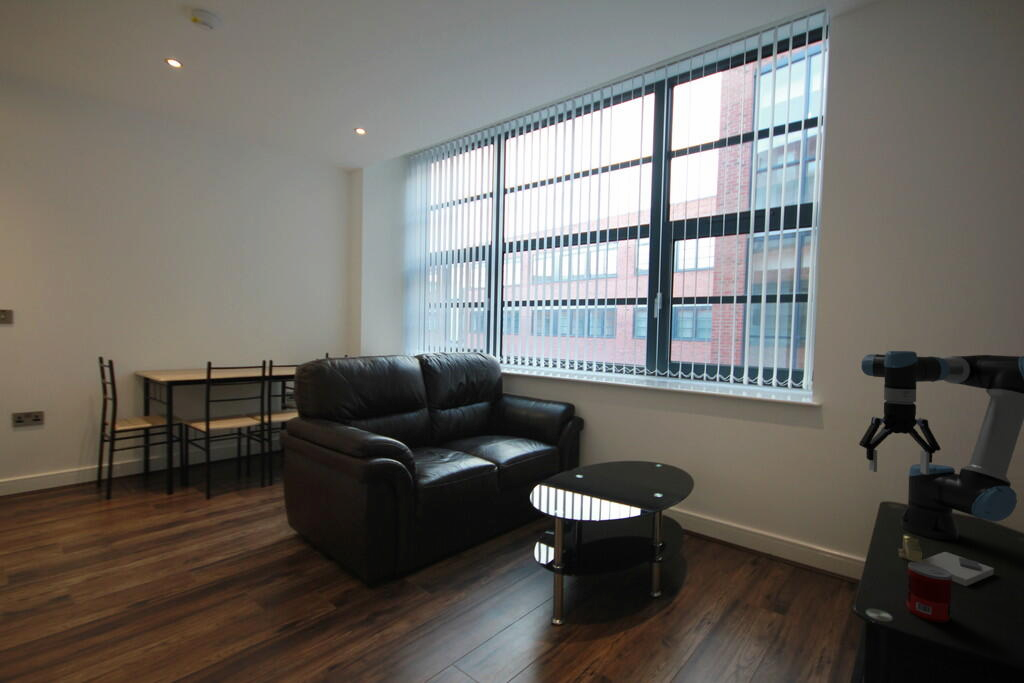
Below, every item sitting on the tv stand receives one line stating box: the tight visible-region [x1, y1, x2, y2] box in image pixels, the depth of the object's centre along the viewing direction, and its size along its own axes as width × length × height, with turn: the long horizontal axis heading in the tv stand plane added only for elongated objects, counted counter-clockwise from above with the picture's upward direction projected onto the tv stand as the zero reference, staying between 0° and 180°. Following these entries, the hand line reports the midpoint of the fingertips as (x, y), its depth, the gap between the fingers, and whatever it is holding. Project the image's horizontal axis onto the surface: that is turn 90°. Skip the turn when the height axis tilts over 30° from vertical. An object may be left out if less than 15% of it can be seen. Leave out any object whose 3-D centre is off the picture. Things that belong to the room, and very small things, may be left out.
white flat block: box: [922, 551, 995, 587], centre depth 137 cm, size 16×11×3 cm
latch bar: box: [902, 534, 923, 562], centre depth 141 cm, size 12×4×5 cm, turn 146°
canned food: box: [906, 561, 953, 624], centre depth 115 cm, size 8×8×11 cm
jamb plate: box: [898, 548, 908, 560], centre depth 145 cm, size 5×5×1 cm
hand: (898, 472), depth 144 cm, fingers open, 13 cm apart
